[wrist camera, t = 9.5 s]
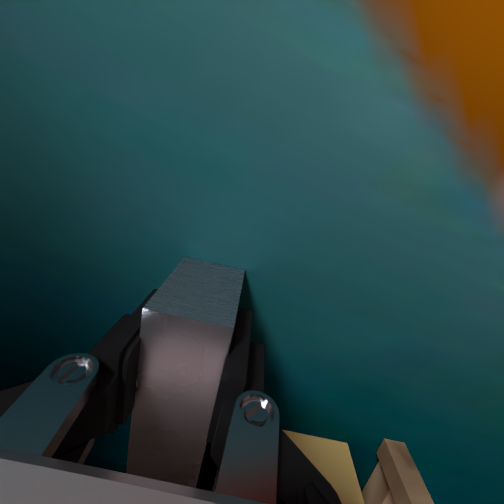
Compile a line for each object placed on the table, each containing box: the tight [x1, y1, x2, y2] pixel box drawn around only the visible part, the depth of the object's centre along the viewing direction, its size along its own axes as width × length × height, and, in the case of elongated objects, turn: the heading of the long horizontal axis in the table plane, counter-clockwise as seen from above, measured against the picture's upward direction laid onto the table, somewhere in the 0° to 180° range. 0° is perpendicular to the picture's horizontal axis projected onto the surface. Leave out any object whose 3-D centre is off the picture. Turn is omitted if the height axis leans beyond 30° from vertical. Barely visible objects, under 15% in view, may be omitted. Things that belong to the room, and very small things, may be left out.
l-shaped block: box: [126, 257, 245, 488], centre depth 13 cm, size 19×12×4 cm, turn 167°
